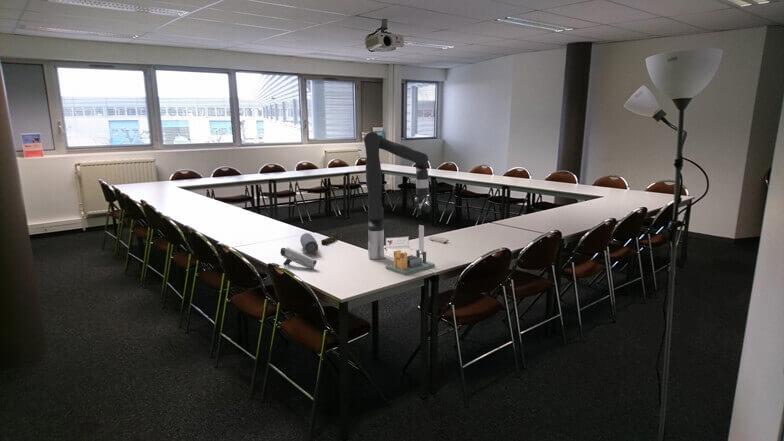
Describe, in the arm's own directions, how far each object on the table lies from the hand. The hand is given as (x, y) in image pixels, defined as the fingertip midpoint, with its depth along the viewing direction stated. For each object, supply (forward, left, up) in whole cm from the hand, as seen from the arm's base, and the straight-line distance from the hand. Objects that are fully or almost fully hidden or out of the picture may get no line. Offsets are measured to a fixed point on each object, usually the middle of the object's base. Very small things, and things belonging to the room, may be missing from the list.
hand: (423, 213), depth 277 cm
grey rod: (-5, -17, -20) cm, 26 cm away
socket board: (-12, -21, -27) cm, 36 cm away
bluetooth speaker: (-68, +26, -27) cm, 78 cm away
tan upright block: (-19, -25, -25) cm, 40 cm away
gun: (-75, -6, -27) cm, 80 cm away
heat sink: (-12, -21, -25) cm, 35 cm away
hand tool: (-54, +48, -27) cm, 77 cm away
